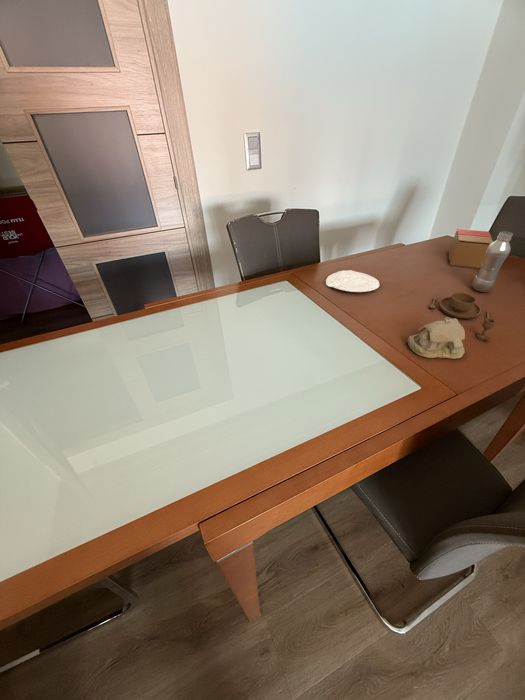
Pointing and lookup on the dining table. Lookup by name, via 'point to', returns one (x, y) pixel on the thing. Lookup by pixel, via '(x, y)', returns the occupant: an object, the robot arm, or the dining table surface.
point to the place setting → (464, 310)
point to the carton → (469, 250)
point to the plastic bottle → (492, 262)
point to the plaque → (352, 281)
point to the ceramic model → (439, 339)
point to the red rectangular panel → (473, 233)
